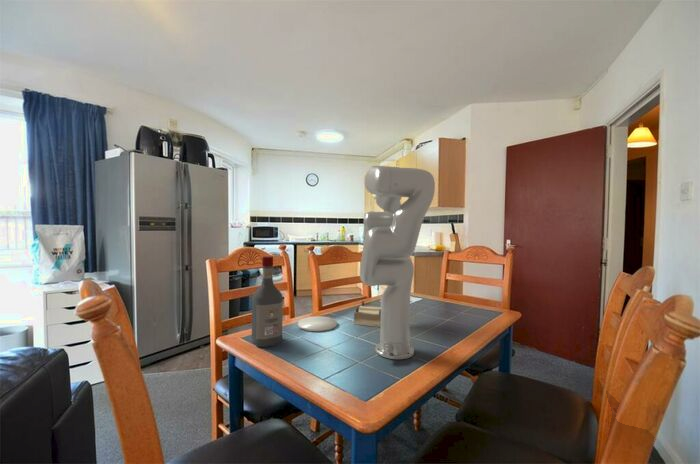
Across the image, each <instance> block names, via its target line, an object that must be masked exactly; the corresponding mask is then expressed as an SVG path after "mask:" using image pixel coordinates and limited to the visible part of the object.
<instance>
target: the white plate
mask: <svg viewBox="0 0 700 464" xmlns="http://www.w3.org/2000/svg"><path fill="white" fill-rule="evenodd" d="M337 326H338V321H337V320H336V319H335V318H332V317H330V316H322V315H321V316H318V315H317V316H307V317H304V318H301V319H300V320H298V321H297V327H298V328H299V329H301V330H302V331H308V332H325V331H329V330H332V329H334V328H336V327H337Z"/></svg>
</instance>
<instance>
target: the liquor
mask: <svg viewBox="0 0 700 464" xmlns="http://www.w3.org/2000/svg"><path fill="white" fill-rule="evenodd" d="M261 263H262V264H261V265H262V281H261V284H260V286H258V287H257V289H256V290H255V291H254V292H253V294H252V296H251V341H252V343H253V344H254V345H255V346H256V347H257V348H268V347H272V346H276V345H277V346H278V345H279V344H280V343H281V342H282V340H283V307H284V306H283V301H284V299H283V298H284V297H283V294H282V292H281V291H280V290H279V289H278V288H277V287H276V285H274V281H273V280H274V279H273V274H274V273H273V270H274V269H273V267H274V256H267V255H265V256H262V260H261Z"/></svg>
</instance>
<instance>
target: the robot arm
mask: <svg viewBox="0 0 700 464" xmlns="http://www.w3.org/2000/svg"><path fill="white" fill-rule="evenodd" d="M364 187H365V189H366V190H367V192H368V193H370V194H372V195H374V196H375V203H376V205H377V206H378V207H379V208H380V209H382V210H383V211H368V212H366V213H364V216H363V246H362V253H361V259H360V266H359V278H360V281H361V282H362V283H363V285H365V286H368V285H374V286H373V287H376V286H387V287H386V288H385V289H384V291H383V292H382V294H381V298H380V307H381V324H380V327H379V328H380V331H379V333H380V334H379V335H380V336H379V340H380V341H379V342H378V343H377V344H376V345H375V352H376V354H377V355H378V356H380V357H383V358H385V359H388V360H407V359H409V358H411V357H413V356H414V354H415V348H414V347H413V346H412V345H410V332H411V330H410V323H411V321H410V320H411V319H410V318H411V291H412V290H411V289H412V282H413V279H414V274H415V273H414V272H415V266H414V263H413V261H412V260H411V259H410V258H409V257H411V256H412V255H413V254H414V252H415V251H416V247H417V244H418V240H419V237H420V232H421V228H422V224H423V220H424V219H425V216H426V214H427V213H428V211H429V209H430V207H431V205H432V202H433V200H434V196H435V192H436V191H435V190H436V183H435V177H434V176H433V174H432V173H431V172H429V170H426V169H421V168H417V167H399V166H387V165H386V166H385V165H373V166H370V167H369V168H368V169H367V171H366V173H365V177H364ZM402 198H407V200H406V201H404V202H403V203H401V202H400V201H401V200H402ZM375 285H376V286H375Z"/></svg>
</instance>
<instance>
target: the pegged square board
mask: <svg viewBox="0 0 700 464" xmlns="http://www.w3.org/2000/svg"><path fill="white" fill-rule="evenodd" d="M380 324H381V306H376V305H375V306H373V305H365V301H363V300H362V301H361V305H360V306H355V311H354V312H353V325H357V326H366V327H367V326H368V327H377V328H380Z"/></svg>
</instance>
